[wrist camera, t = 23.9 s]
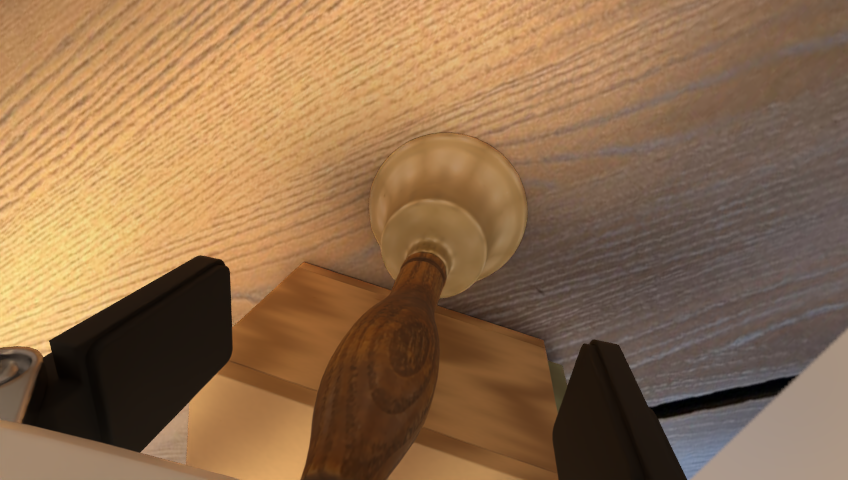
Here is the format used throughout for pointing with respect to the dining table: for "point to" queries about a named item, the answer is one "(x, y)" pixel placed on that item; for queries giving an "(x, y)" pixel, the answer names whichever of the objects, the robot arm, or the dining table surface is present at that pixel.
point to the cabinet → (305, 365)
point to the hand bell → (412, 298)
